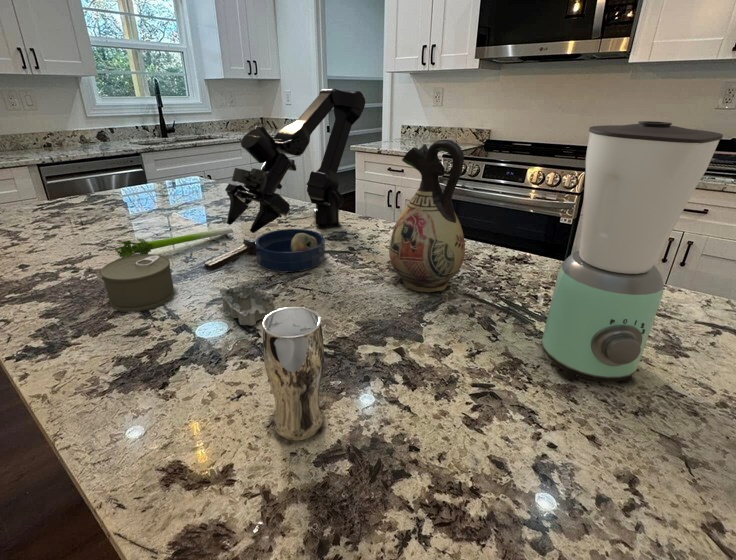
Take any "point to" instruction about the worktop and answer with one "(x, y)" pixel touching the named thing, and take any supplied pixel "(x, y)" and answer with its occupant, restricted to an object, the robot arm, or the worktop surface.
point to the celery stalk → (165, 242)
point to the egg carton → (247, 303)
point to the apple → (302, 242)
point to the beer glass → (294, 369)
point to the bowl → (288, 251)
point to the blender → (622, 245)
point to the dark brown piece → (232, 254)
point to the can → (138, 282)
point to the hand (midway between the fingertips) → (239, 227)
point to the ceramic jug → (429, 223)
